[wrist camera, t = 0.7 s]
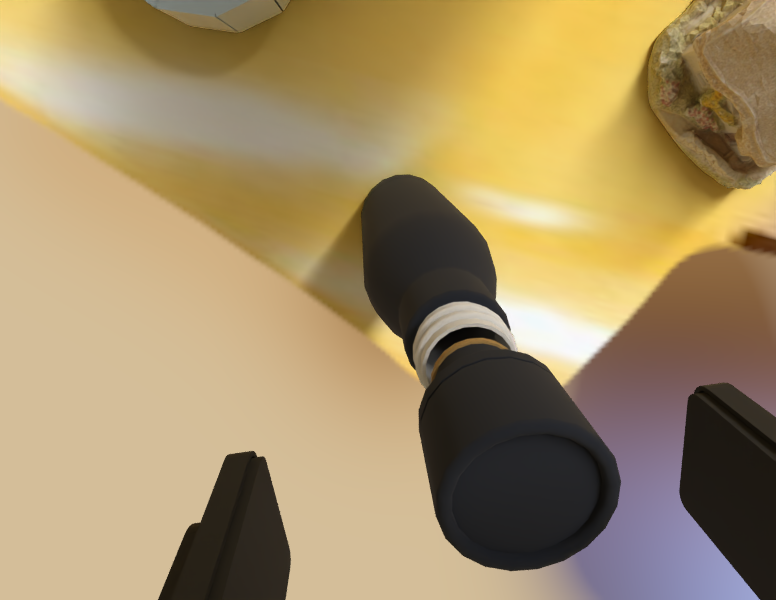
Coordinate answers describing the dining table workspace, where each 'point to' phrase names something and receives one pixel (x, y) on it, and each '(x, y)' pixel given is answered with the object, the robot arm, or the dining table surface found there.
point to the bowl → (221, 12)
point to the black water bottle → (481, 391)
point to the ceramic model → (720, 88)
